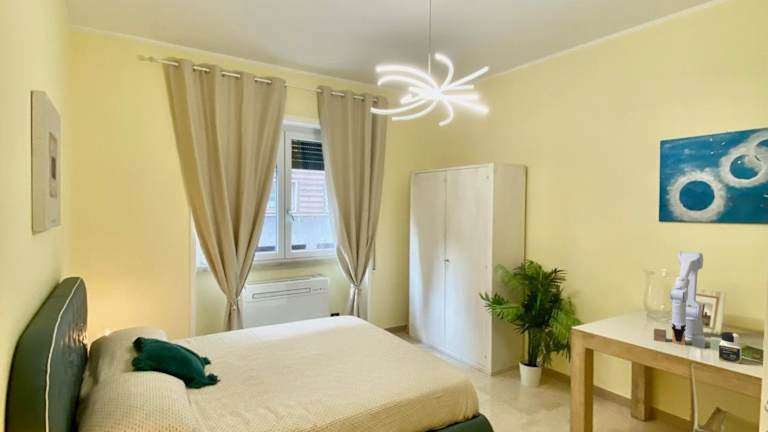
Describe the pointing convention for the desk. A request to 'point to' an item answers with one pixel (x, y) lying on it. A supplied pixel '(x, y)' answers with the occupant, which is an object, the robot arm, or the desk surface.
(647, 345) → the desk surface
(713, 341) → the sage cube
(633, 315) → the desk surface
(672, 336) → the terracotta cube
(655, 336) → the walnut cube
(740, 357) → the medicine bottle
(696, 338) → the slate cube
